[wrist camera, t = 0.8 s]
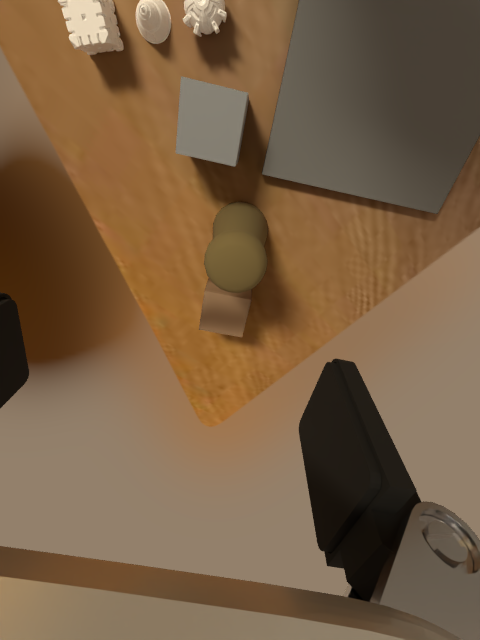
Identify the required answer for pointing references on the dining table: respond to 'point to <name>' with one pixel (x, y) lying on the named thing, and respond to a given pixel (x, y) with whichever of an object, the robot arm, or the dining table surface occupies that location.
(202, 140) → the slate-grey block
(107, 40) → the game pieces
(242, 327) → the walnut block
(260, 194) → the dining table surface
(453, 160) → the mat
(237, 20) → the dining table surface
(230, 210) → the olive lobed rounded piece
